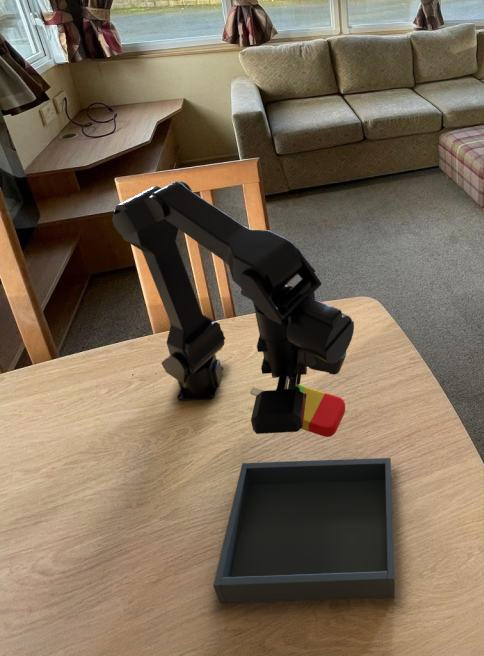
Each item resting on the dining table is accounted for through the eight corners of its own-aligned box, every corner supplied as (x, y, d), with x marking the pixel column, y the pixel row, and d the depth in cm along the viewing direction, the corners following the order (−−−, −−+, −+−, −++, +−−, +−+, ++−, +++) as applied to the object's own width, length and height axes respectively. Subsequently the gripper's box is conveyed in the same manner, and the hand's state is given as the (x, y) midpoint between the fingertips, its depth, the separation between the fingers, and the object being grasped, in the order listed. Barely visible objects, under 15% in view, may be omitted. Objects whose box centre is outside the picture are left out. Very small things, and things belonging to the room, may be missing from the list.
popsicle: (333, 441, 67) (331, 432, 66) (241, 410, 72) (239, 401, 71) (348, 406, 72) (347, 397, 71) (261, 379, 77) (260, 371, 76)
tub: (219, 604, 59) (213, 585, 57) (247, 481, 72) (242, 462, 70) (395, 597, 60) (394, 579, 58) (391, 476, 72) (390, 457, 70)
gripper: (337, 383, 56) (346, 465, 63) (343, 275, 73) (350, 349, 80) (241, 388, 56) (260, 470, 63) (269, 278, 73) (282, 352, 80)
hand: (293, 403), depth 71 cm, fingers closed on popsicle, 6 cm apart
